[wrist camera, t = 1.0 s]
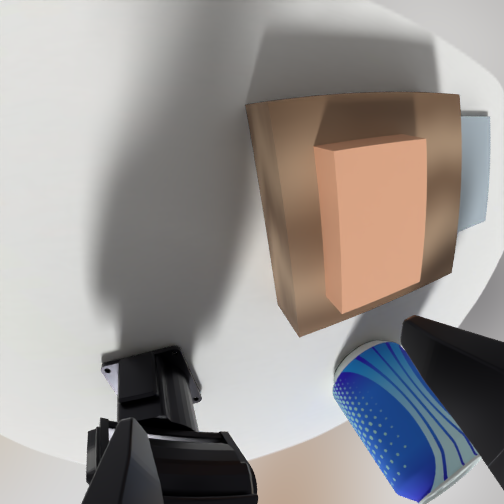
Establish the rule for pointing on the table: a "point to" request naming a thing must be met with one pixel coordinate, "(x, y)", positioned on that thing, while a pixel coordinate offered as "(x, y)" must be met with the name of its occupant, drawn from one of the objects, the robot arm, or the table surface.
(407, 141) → the peach rectangular block
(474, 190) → the mat
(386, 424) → the beer can
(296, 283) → the brown box
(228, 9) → the table surface
